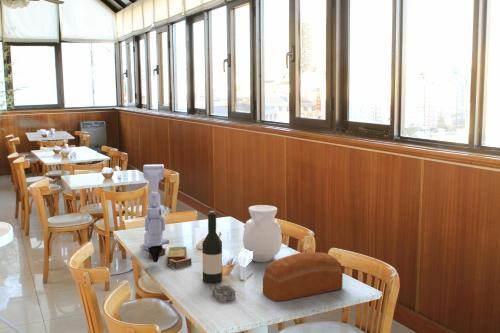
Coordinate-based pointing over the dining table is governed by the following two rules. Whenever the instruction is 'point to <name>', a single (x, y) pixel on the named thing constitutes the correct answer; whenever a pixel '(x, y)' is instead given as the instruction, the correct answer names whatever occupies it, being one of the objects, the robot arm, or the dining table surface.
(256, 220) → the white ceramic rounded jar
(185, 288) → the dining table surface
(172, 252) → the carton
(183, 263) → the frame
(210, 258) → the wine bottle
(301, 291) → the bread
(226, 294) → the grey rock
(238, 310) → the dining table surface
